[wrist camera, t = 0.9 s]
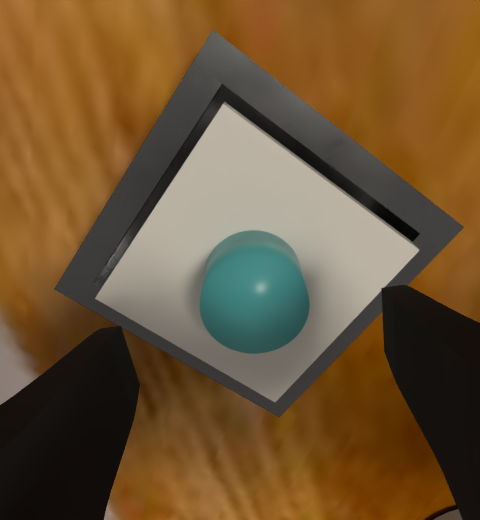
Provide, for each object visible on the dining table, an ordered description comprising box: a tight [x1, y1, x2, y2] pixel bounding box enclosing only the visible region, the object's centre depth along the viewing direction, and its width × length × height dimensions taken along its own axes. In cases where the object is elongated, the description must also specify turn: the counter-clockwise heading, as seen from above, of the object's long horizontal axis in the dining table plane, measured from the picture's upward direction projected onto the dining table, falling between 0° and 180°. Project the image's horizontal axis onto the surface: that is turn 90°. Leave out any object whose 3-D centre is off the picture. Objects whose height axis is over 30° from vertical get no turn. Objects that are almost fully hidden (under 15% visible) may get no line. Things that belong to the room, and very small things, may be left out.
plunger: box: [95, 102, 419, 402], centre depth 16 cm, size 9×9×4 cm
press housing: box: [55, 30, 464, 417], centre depth 20 cm, size 12×12×4 cm
